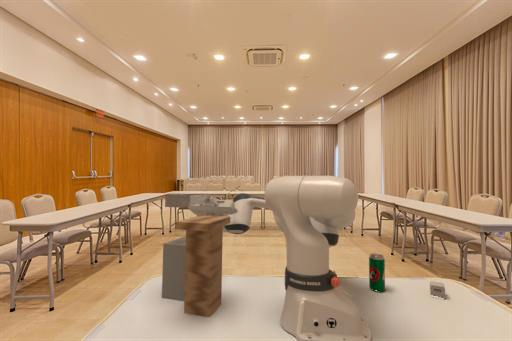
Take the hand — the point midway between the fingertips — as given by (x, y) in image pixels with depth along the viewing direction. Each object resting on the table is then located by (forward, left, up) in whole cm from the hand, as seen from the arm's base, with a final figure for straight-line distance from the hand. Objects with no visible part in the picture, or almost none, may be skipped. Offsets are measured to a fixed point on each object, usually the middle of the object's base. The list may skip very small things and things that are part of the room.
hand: (204, 197), depth 105 cm
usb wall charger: (-83, -7, -31) cm, 89 cm away
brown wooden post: (-12, +24, -31) cm, 41 cm away
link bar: (0, +9, -2) cm, 9 cm away
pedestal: (0, +13, -31) cm, 34 cm away
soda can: (-64, -6, -31) cm, 71 cm away
